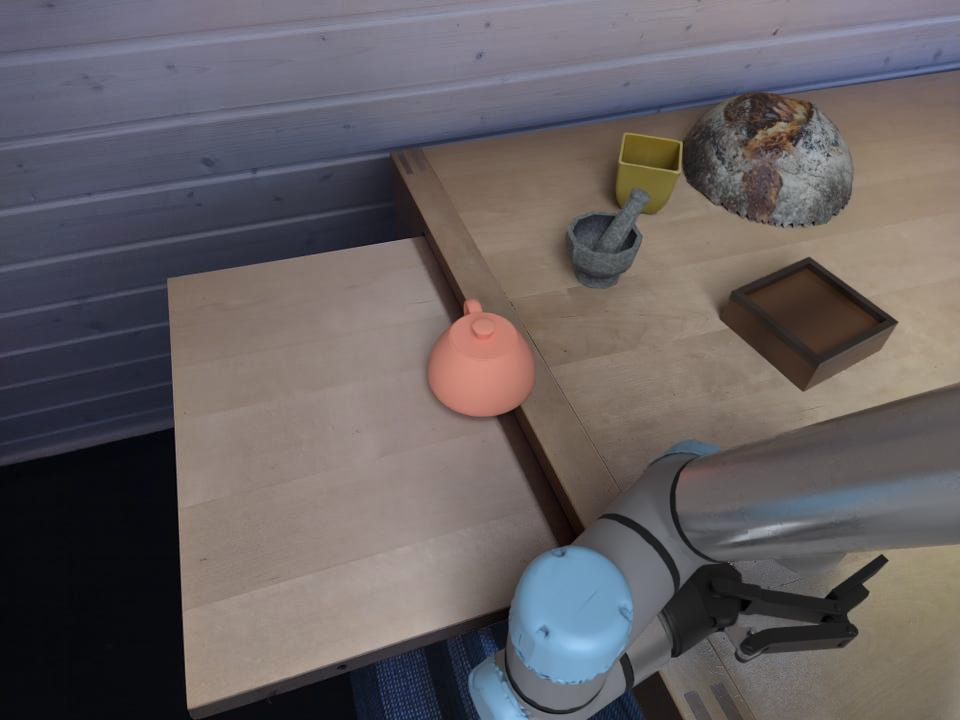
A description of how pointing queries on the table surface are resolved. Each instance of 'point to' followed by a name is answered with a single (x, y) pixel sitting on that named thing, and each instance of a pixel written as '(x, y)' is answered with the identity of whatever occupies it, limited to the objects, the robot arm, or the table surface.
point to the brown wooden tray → (807, 322)
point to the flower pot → (648, 168)
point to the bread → (770, 160)
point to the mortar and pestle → (606, 242)
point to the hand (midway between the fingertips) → (818, 505)
